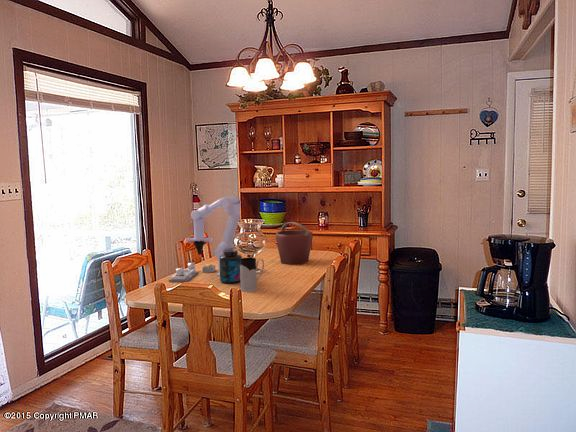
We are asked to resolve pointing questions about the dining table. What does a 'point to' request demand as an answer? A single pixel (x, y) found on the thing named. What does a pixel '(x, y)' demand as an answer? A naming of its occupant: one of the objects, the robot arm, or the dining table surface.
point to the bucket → (294, 245)
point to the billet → (191, 266)
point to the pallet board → (187, 276)
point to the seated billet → (180, 272)
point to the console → (208, 268)
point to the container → (230, 266)
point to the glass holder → (249, 274)
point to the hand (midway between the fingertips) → (199, 254)
